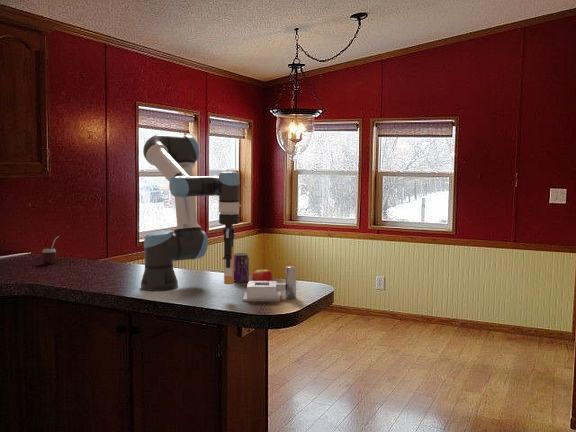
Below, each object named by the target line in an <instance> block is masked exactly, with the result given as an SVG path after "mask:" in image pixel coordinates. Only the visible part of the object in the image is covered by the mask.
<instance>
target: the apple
mask: <svg viewBox="0 0 576 432" xmlns="http://www.w3.org/2000/svg"><path fill="white" fill-rule="evenodd" d="M265 266H266V264H264V266H263V267H262V269H256V270H254V271H253V273H252V275H251V281H273V280H272V279H273V275H272V274H273V273H272V271H271V270H269V269H264V268H265Z"/></svg>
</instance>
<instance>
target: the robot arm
mask: <svg viewBox="0 0 576 432" xmlns="http://www.w3.org/2000/svg"><path fill="white" fill-rule="evenodd" d="M142 149H143V150H142V152H143V153H142V154H143V157H144V159H145V160H146V161H147V163H148V164H150V165H152V166H153V167H156V169H157V170H158V171H159V173H160V174H162V176H163V177H164V178H165V179H166V181H168V182H169V192H170V195H172V197H174V205H175V215H176V226H175V227H174V229H173V230H171V229H170V230H169V229H166V230H164V229H163V230H158V231H153V232H149V233H147V234H146V235H145V236H144V243H143V249H144V250H143V252H144V255H143V256H144V272H143V275H142V277H141V281H140V289H141V290H144V291H156V292H157V291H158V292H159V291H167V290H168V291H169V290H174V289H176V288H178V287H179V286H178V285H179V284H178V283H179V282H178V278H177V275H176V272H175V270H174V269H175V268H174V262H175V261H176V262H177V261H188V260H189V261H190V260H192V261H193V260H197V259H201V258H203V257H204V256H205V254H206V252H207V250H208V245H209V238H208V235H207V233H206V231H204V230H202V226H201V225H200V224H199V223H198V218H197V217H198V216H197V208H196V207H197V206H196V197H203V196H204V197H209V196H211V197H213V196H214V197H215V196H216V197H218V212H219V214H218V222H219V224H220V225H225V226H224V228H223V230H222V232H223V242H224V243H223V250H224V251H223V257H222V260H224V259H225V276H232V246H233V247H234V246H235V242H234V239H235V232H236V228H235V227H234V225H238V224H239V223H240V214H239V212H240V208H241V206H242V205H241V203H240V184H241V181H240V174H239V173H238V172H237V171H220V173H219V174H218V175H208V176H207V175H206V176H205V175H202V176H201V175H200V176H199V175H198V176H193V168H194V167H195V166H196V163H197V161H198V160H199V157H200V148H199V144H198V142H197V140H196V138H194V136H193V135H186V134H163V133H162V134H155V135H153V136H151V137H150V138H148V139H147V140H146V141H145V143H144V146H143V148H142ZM234 248H235V247H234ZM235 254H236V253H234V256H235Z"/></svg>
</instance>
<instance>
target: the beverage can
mask: <svg viewBox="0 0 576 432" xmlns="http://www.w3.org/2000/svg"><path fill="white" fill-rule="evenodd" d="M234 254H235V256H234V282H236V283H245V282H247V281H250V265H249V263H250V261H249V260H250V259H249V256H248V255H249V254H248V253H245V252H244V253H243V252H240V253H239V252H238V253H237V252H236V253H234Z"/></svg>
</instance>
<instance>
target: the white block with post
mask: <svg viewBox="0 0 576 432" xmlns="http://www.w3.org/2000/svg"><path fill="white" fill-rule="evenodd" d="M282 292H285V299H286V300H295V299H297V266H294V265H289V266H288V265H287V266H285V282H278V281H277V280H271V281H253V280H248V282H247V286H246V291H244V294H243V297H242V302H281V296H282V295H281V293H282Z"/></svg>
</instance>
